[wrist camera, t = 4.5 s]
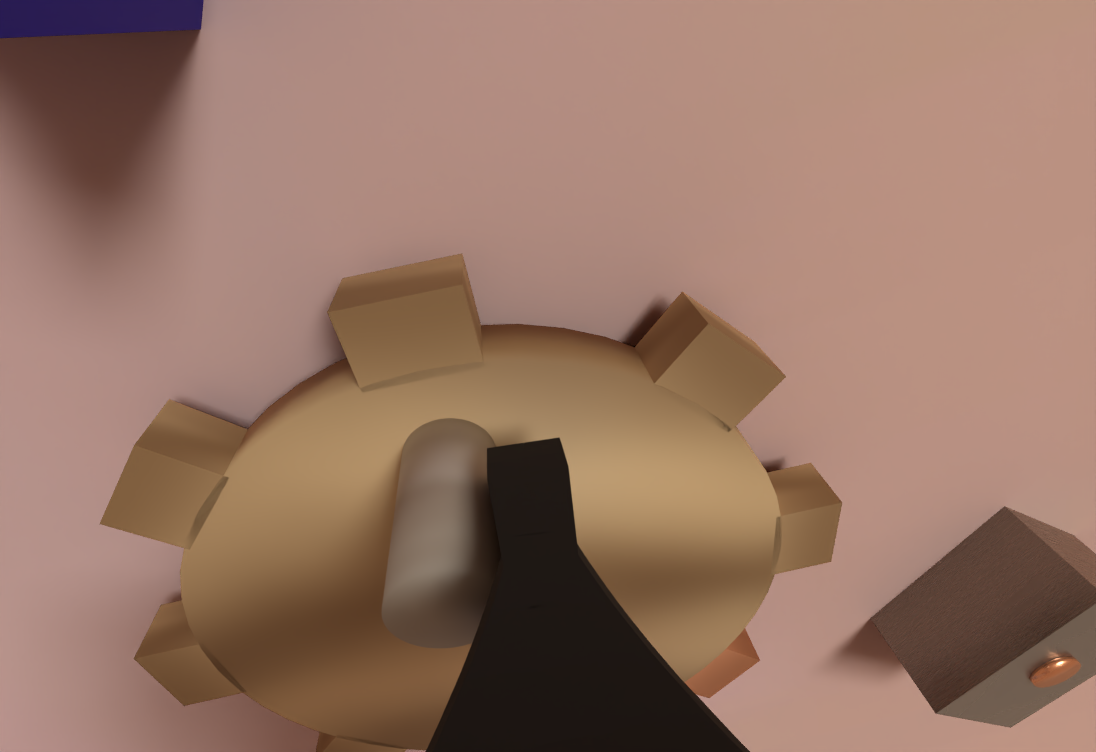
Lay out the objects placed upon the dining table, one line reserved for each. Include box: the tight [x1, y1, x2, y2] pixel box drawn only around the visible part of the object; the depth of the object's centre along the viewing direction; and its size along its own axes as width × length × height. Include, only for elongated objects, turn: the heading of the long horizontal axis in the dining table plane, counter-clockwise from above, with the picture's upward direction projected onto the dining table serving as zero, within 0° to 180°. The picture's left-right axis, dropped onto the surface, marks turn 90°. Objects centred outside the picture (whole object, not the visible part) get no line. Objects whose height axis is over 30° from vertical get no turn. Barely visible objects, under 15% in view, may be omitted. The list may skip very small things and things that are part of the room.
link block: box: [871, 506, 1096, 727], centre depth 18 cm, size 6×4×4 cm, turn 152°
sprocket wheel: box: [100, 254, 842, 752], centre depth 13 cm, size 17×17×5 cm
